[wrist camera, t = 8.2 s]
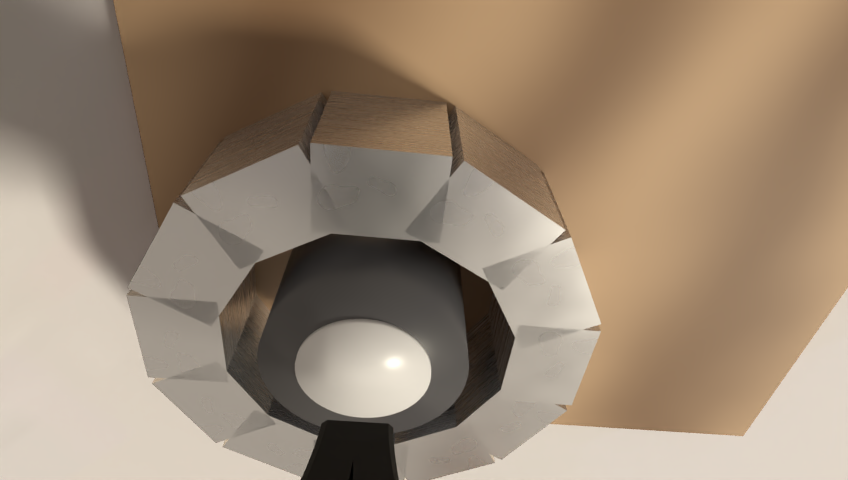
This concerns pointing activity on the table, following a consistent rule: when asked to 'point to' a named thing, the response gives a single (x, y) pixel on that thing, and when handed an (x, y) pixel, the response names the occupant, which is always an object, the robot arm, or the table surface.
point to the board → (576, 158)
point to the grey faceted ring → (373, 217)
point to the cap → (366, 332)
